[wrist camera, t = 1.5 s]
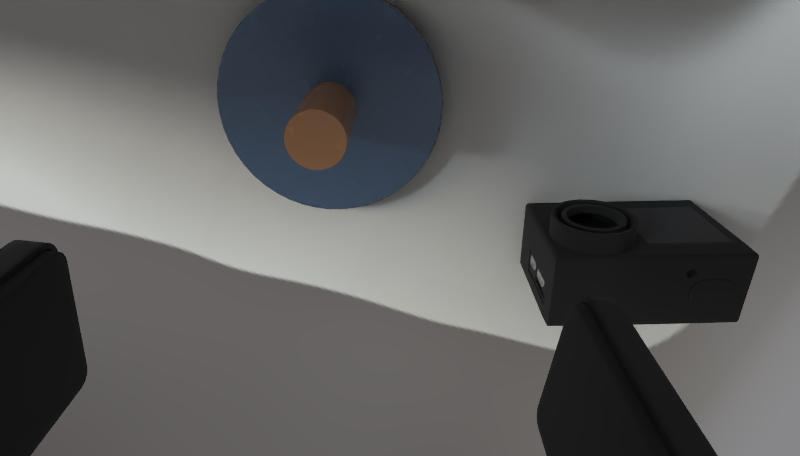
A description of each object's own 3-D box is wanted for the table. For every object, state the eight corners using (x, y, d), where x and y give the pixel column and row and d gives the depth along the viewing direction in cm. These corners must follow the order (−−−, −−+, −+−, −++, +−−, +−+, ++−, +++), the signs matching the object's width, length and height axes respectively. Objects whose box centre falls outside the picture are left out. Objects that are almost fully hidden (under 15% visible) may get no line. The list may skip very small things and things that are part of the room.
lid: (217, 180, 32) (172, 235, 25) (230, -42, 26) (178, -44, 20) (414, 217, 33) (419, 279, 26) (465, 12, 28) (487, 27, 21)
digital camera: (697, 181, 32) (771, 233, 26) (678, 258, 34) (741, 323, 28) (527, 184, 32) (559, 237, 26) (519, 261, 34) (547, 327, 28)
